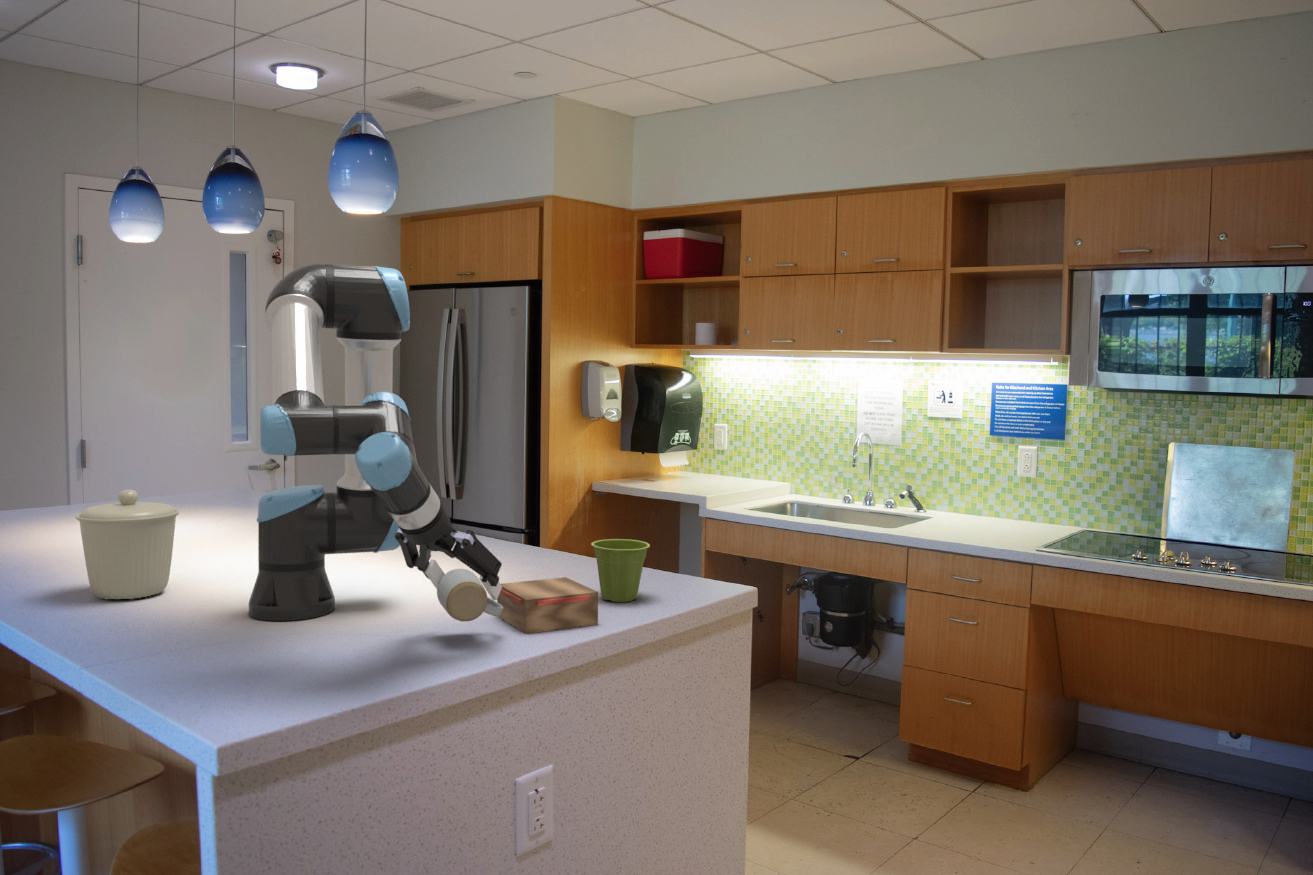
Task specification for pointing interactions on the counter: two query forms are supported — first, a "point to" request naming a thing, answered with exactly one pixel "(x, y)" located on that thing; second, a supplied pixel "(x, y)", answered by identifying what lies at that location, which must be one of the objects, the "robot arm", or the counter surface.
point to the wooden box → (548, 604)
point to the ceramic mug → (465, 596)
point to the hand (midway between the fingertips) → (470, 589)
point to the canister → (128, 546)
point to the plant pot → (619, 567)
